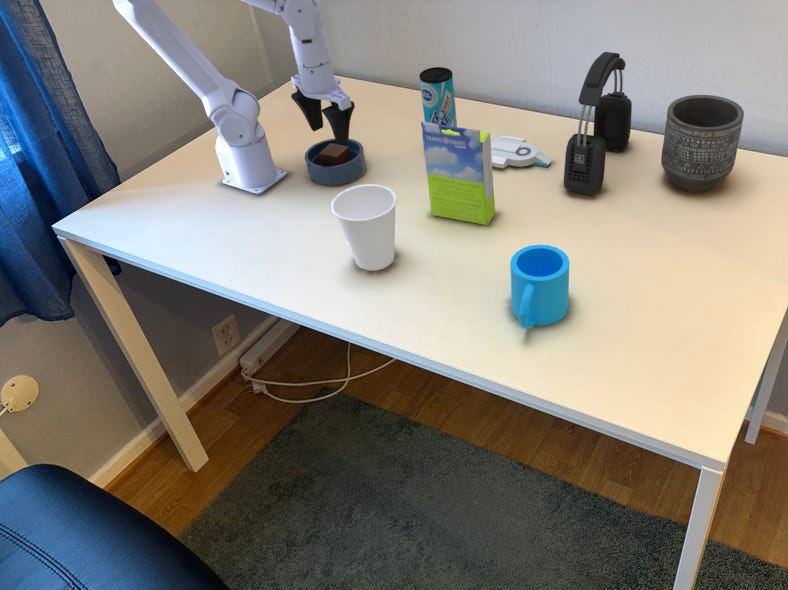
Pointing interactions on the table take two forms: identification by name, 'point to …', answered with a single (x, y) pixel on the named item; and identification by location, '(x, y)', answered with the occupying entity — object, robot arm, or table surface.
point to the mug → (539, 285)
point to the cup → (368, 224)
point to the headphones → (598, 127)
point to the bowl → (339, 172)
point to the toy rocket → (515, 153)
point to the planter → (701, 141)
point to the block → (335, 155)
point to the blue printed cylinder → (438, 96)
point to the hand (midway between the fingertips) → (330, 135)
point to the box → (459, 172)
